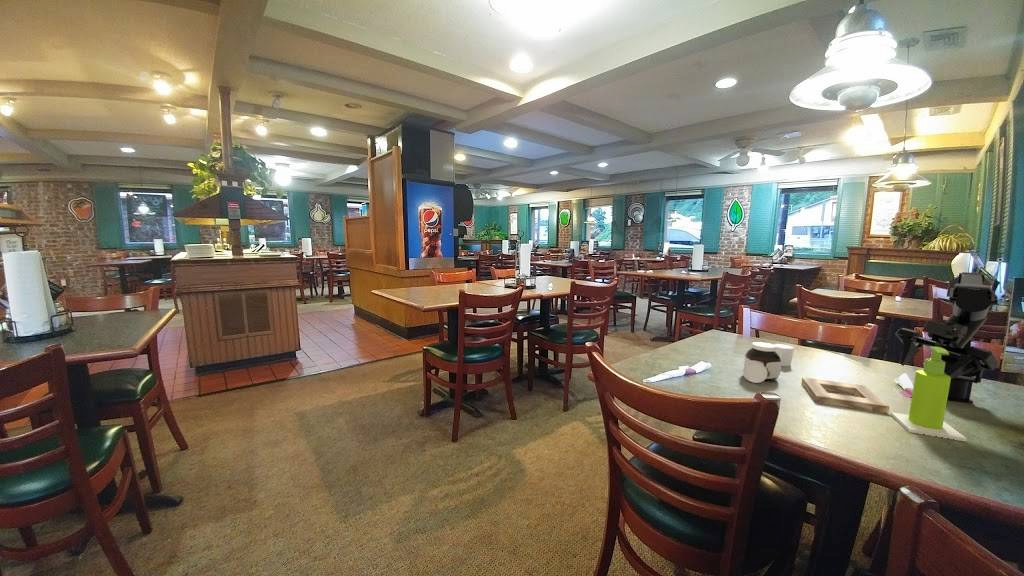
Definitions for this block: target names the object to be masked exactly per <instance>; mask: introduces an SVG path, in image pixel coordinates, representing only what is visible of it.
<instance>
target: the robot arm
mask: <svg viewBox="0 0 1024 576" xmlns="http://www.w3.org/2000/svg"><path fill="white" fill-rule="evenodd" d="M947 286H948V287H947V293H946V297H947V298H948V304H949V305H950V307H951V308H952V313H951V315H950V316H949V318H948V319H947V320H945V321H943V320H942V321H941V322H937V321H934V320H933V321H932V320H928V319H927V320H926V322H925V323H924V326H923V328H922V330H921V331H922V332H924V333H927V336H928V337H929V338H926V337H923V336H922V335H921V333H920V332H919V331H916V330H914V329H910V328H906V327H901V328H900V329H897V331H896V332H895V336H896V338H898V340H899V341H900V342H901V344H902V345H903V349H902V355H901V359H900V363H899V364H900V365H901V366H902V367H903V366H906V365H907V364H908V363H909V362H910V361H911V360H912V359H913V358H914V357H915V356H916V355H917V354H918V353H919V352H920V349H919V348H921V347H923V346H925V347H929V348H930V346H933V347H941V348H944V349H945V350H947V351H948V353H949V355H943V354H942V355H941V360H943V361H944V362H945V369H944V374H946V375H948V376H950V377H951V381H950V386H949V392H948V398H947V401H954V402H961V403H970V404H973V403H974V401H973V400H972V399H971V394H972V388H973V384H978V383H980V384H981V382H982V378H983V373H984V371H985V370H987V371H994V370H995V369H996V368H997V367H998V366H999V361H998V360H997V358H996V357H995V355H994V354H993V353H992V351H991V350H988V349H983V348H980V347H977V346H972V342H973V341H974V340H975V337H974V335H975V334H976V333H977V331H978V330H979V329H980V328H981V327H982V325H983V324H984V323H985V322H986V321H987V320H988V316H987V314H988V313H989V309H990V307H994V305H998V303H999V302H998V301H999V298H998V295H997V294H996V292H995V291H994V290H993V291H991V290H992V289H991V282H989V281H988V280H987V279H985V273H981V272H969V271H968V272H964V271H963V272H959V273H958V276H956V277H954V278H952V279H950V280H949V281H948V285H947Z"/></svg>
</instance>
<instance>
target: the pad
mask: <svg viewBox="0 0 1024 576" xmlns="http://www.w3.org/2000/svg"><path fill="white" fill-rule="evenodd" d="M889 413H890V414H889V415H890V417H892V418H893V419H894V420H895V421H896V422H897V423H898V424H899V425H901V427H903V428H904V429H905V430H906V431H907V432H908V433H912V434H917V433H918V435H923V434H925V435H924V436H929V435H930V437H935V436H937V437H936V438H941V437H943V438H942V439H947V438H949V440H953V439H954V440H955V441H960V442H967V440H968V438H967V437H965V436H964V435H963V434H961V433H960V432H958V430H956V429H955V428H953V427H952V426H951V425H949V424H948V423H947V422H945V421H943V427H942V428H941V429H933V428H927V427H923V426H920V425H917V424H915V423H912V422H911V421H909V414H905V413H899V412H894V411H893V412H889Z"/></svg>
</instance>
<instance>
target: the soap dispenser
mask: <svg viewBox="0 0 1024 576" xmlns="http://www.w3.org/2000/svg"><path fill="white" fill-rule="evenodd" d="M929 349H930V350H931V354H930V357H928V358H924V359H925V360H924V364H923V365H924V366H923V369H918V370H917V369H916V371H915V374H914V382H913V386H912V387H913V389H912V394H911V401H910V405H909V406H910V407H909V414H908V415H909V421H911V422H912V423H915V424H917V425H920V426H923V427H927V428H933V429H941V428H942V427H943V421H944V420H945V414H946V409H947V403H948V400H947V398H948V392H949V386H950V381H951V377H950V376H948V375H946V374H944V369H945V362H944V361H943V360H941V355H942V354H943V355H949V353H948V351H947V350H945V349H944V348H941V347H933V346H930V347H929ZM944 422H945V421H944Z"/></svg>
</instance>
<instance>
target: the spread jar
mask: <svg viewBox="0 0 1024 576" xmlns="http://www.w3.org/2000/svg"><path fill="white" fill-rule="evenodd" d="M773 344H774V343H773ZM773 344H772V343H769V342H763V341H762V342H761V341H753V342H752V343H751V348H750V349H748V350H747V351H746V353H745V355H744V360H743V361H744V362H743V367H742V375H743V376H744V378H745V379H746V380H747V381H749V382H751V383H754V384H759V383H763V382H773V381H775V380H777V379H778V378H779V377H780V374H781V369H782V366H781V358H780V356H779V355H778V354H777V353H776V346H775V345H773Z"/></svg>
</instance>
